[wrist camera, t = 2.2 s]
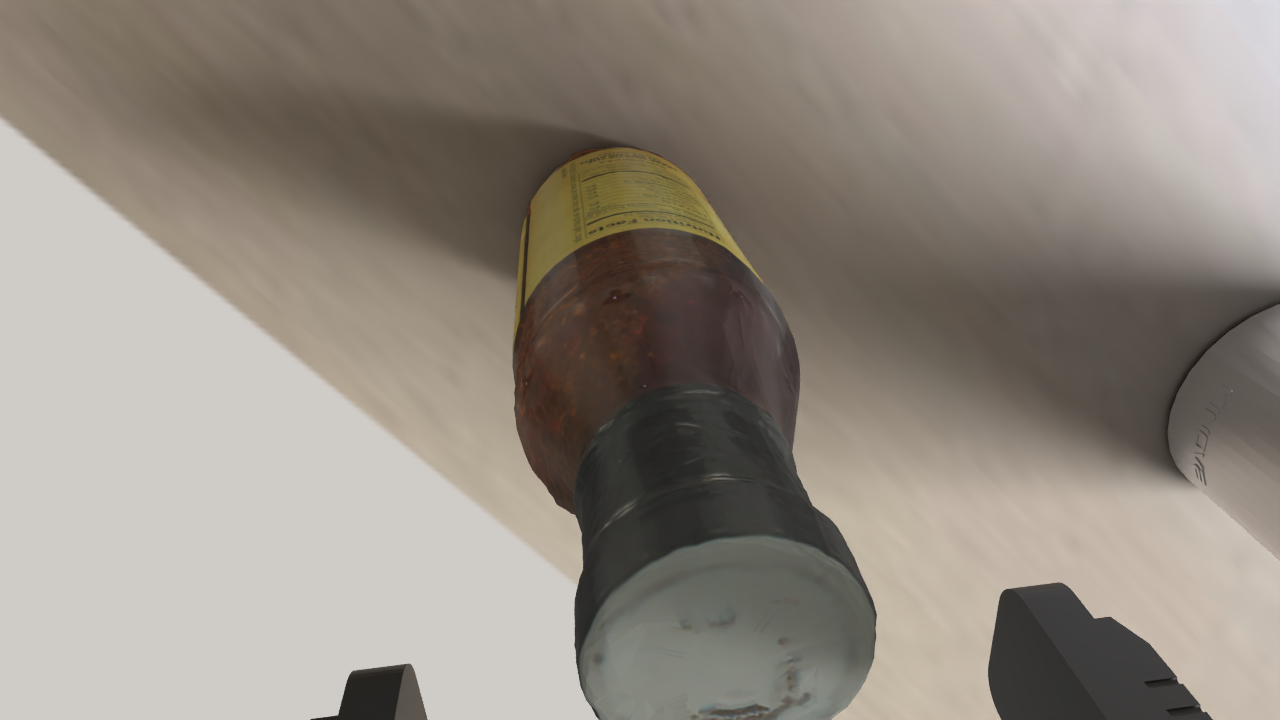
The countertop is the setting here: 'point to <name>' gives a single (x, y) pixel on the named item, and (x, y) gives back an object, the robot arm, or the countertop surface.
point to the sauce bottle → (677, 456)
